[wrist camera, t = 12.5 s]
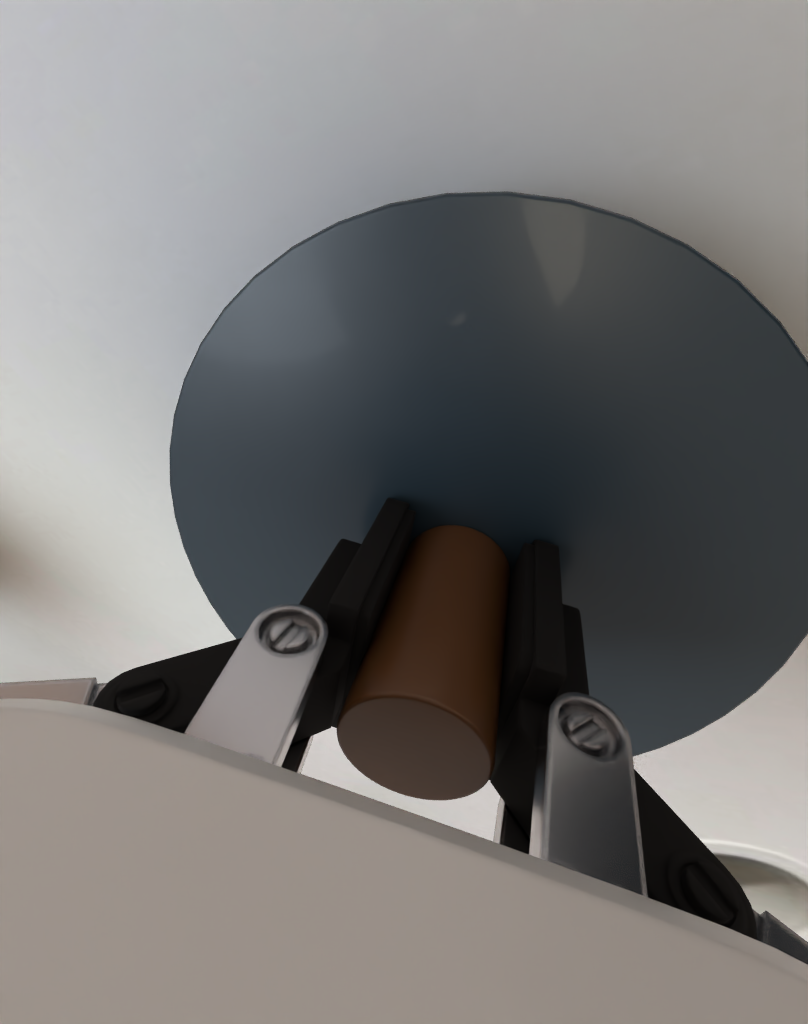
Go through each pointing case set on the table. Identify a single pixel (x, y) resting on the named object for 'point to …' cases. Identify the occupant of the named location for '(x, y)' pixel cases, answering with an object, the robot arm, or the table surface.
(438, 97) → the table surface
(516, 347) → the pot lid
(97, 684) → the robot arm
